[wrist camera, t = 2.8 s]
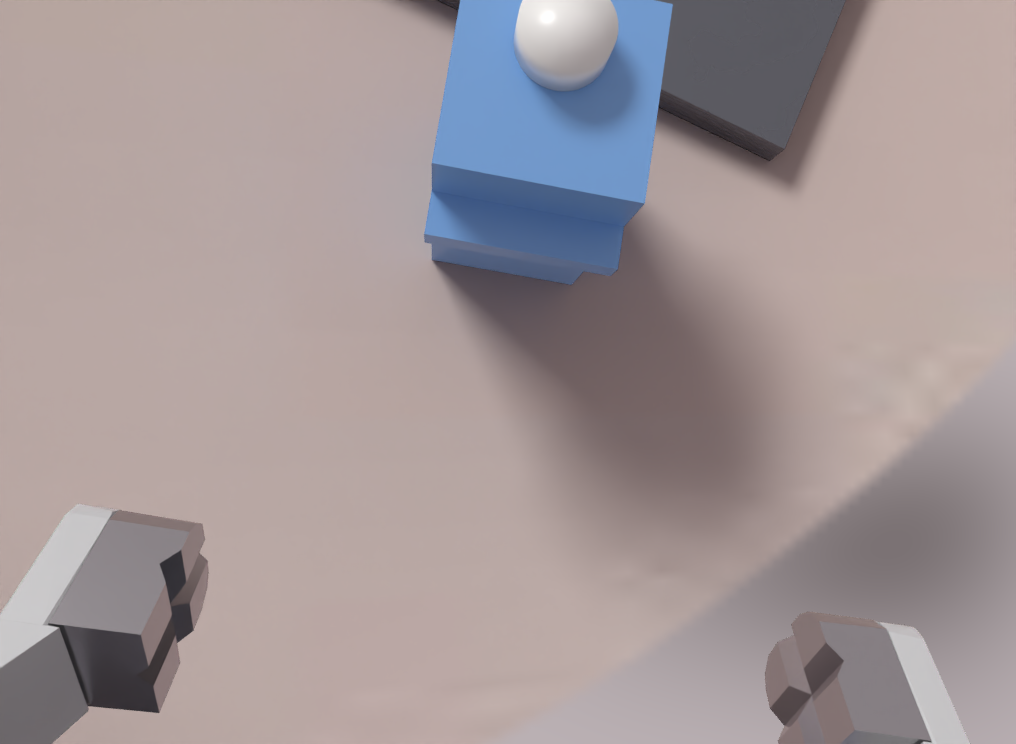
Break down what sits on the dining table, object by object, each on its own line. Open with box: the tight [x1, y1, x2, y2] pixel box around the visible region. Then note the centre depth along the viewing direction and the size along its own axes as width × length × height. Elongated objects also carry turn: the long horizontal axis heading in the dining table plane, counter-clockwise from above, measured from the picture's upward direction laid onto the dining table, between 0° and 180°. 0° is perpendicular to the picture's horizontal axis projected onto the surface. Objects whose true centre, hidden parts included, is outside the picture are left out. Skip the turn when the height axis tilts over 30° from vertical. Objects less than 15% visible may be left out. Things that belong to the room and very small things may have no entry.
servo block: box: [424, 0, 673, 285], centre depth 19 cm, size 4×6×9 cm
